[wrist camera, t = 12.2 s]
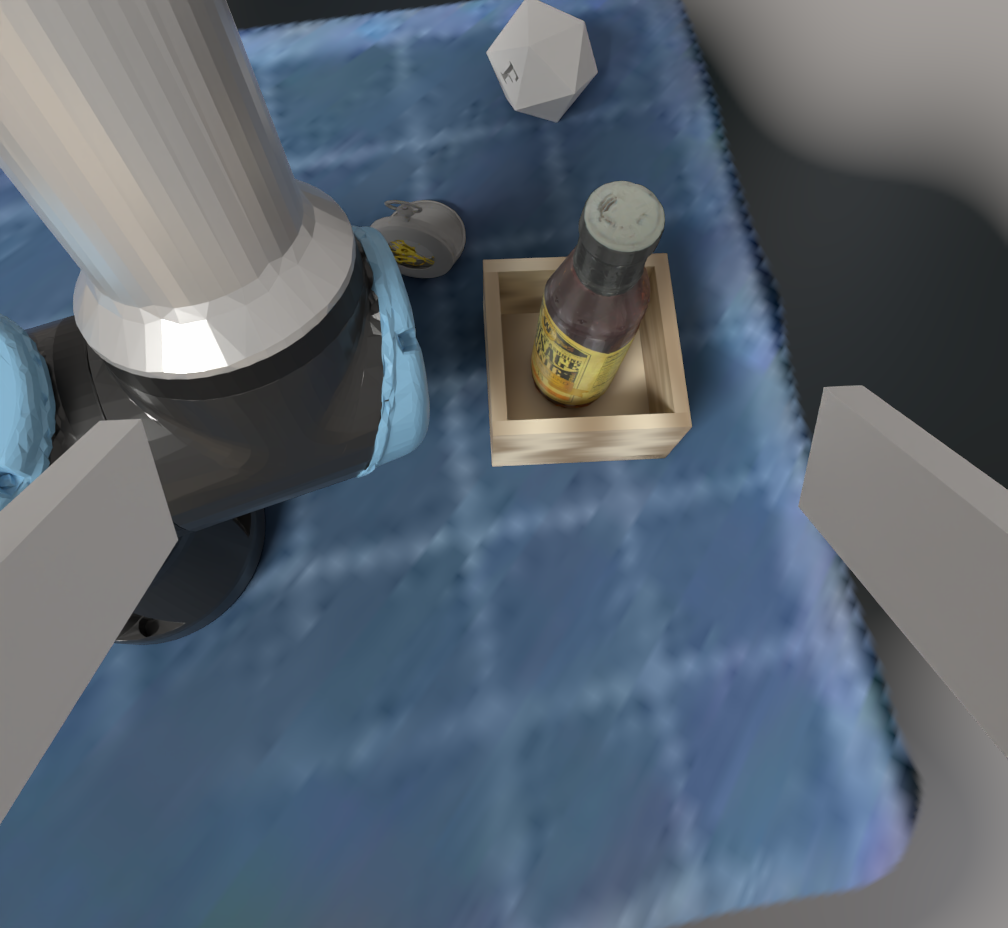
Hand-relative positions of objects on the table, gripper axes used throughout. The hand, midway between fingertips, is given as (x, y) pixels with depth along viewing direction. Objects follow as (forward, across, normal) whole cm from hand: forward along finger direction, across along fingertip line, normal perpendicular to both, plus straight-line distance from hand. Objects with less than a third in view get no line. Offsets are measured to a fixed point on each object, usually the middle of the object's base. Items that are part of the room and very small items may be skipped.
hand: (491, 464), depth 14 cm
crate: (+37, +7, -13) cm, 40 cm away
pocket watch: (+46, -4, -5) cm, 46 cm away
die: (+56, +7, +6) cm, 57 cm away
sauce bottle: (+36, +7, -13) cm, 39 cm away
